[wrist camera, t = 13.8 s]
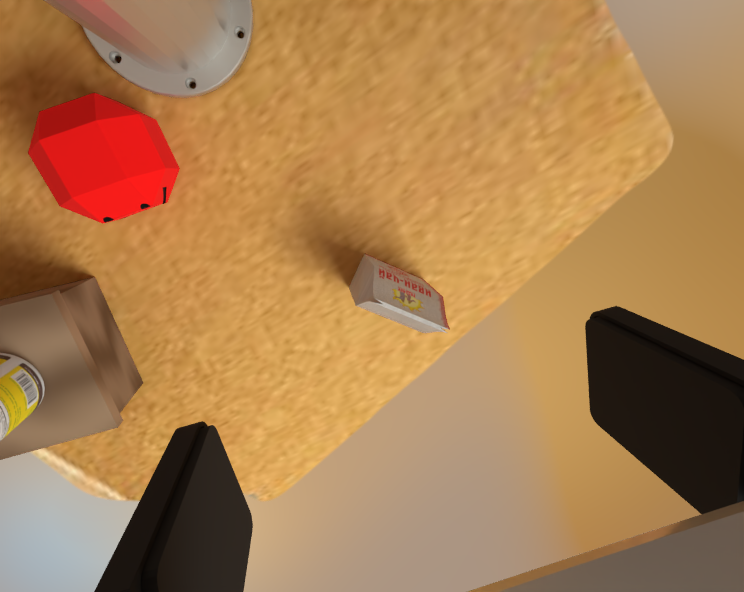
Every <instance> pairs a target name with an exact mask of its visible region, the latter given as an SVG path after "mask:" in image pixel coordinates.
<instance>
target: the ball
mask: <svg viewBox="0 0 744 592" xmlns="http://www.w3.org/2000/svg"><path fill="white" fill-rule="evenodd" d="M28 154H29V155H30V157H31V159H32V160H33V162H34V164H35V165H36V167H37V169H38V170H39V172H40V174H41V175H42V177H43V179H44V180H45V182H46V184H47V186H48V187H49V189H50V191H51V192H52V194H53V196H54V197H55V199H56V201H57V202H58V204H59V206H61V207H63V208H66V209H68V210H71V211H73V212H76V213H78V214H81V215H83V216H86V217H88V218H91V219H93V220H96V221H98V222H101V223H107V222H111V221H115V220H118V219H122V218H125V217H128V216H130V215H133V214H136V213H138V212H141V211H144V210H147V209H149V208H152V207H155V206H158V205H160V204H164V203H167V202H168V200H169V197H170V194H171V191H172V189H173V186H174V183H175V180H176V177H177V175H178V172H179V169H180V168H179V166H178V164H177V162H176V160H175V158H174V156H173V154H172V152H171V150H170V148H169V145H168V143H167V141H166V139H165V137H164V135H163V133H162V131H161V129H160V127H159V125H158V123H157V121H156V120H155V119H153V118H151V117H149V116H147V115H145V114H143V113H141V112H139V111H136V110H134V109H132V108H130V107H128V106H126V105H124V104H122V103H120V102H118V101H115V100H113V99H110V98H107V97H105V96H102V95H99V94H97V93H92V94H89V95H86V96H83V97H80V98H77V99H74V100H71V101H69V102H66V103H63V104H60V105H57V106H54V107H51V108H48V109H45V110H42V111H40V112H39V115H38V119H37V122H36V126H35V130H34V133H33V137H32V140H31V144H30V148H29V151H28Z"/></svg>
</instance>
